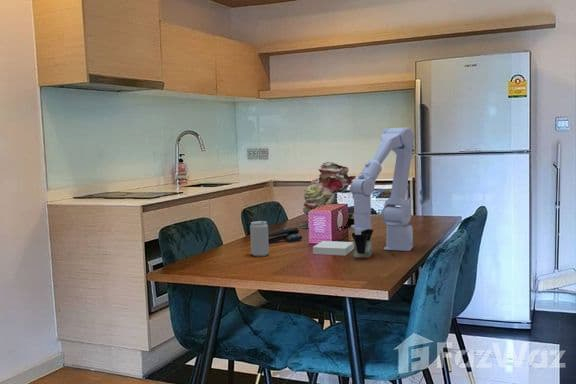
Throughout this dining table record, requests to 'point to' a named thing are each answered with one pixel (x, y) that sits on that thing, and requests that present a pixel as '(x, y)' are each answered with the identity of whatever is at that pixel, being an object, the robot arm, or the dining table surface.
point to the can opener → (290, 237)
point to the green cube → (367, 250)
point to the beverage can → (259, 238)
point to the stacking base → (333, 248)
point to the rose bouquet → (327, 188)
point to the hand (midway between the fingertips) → (363, 251)
